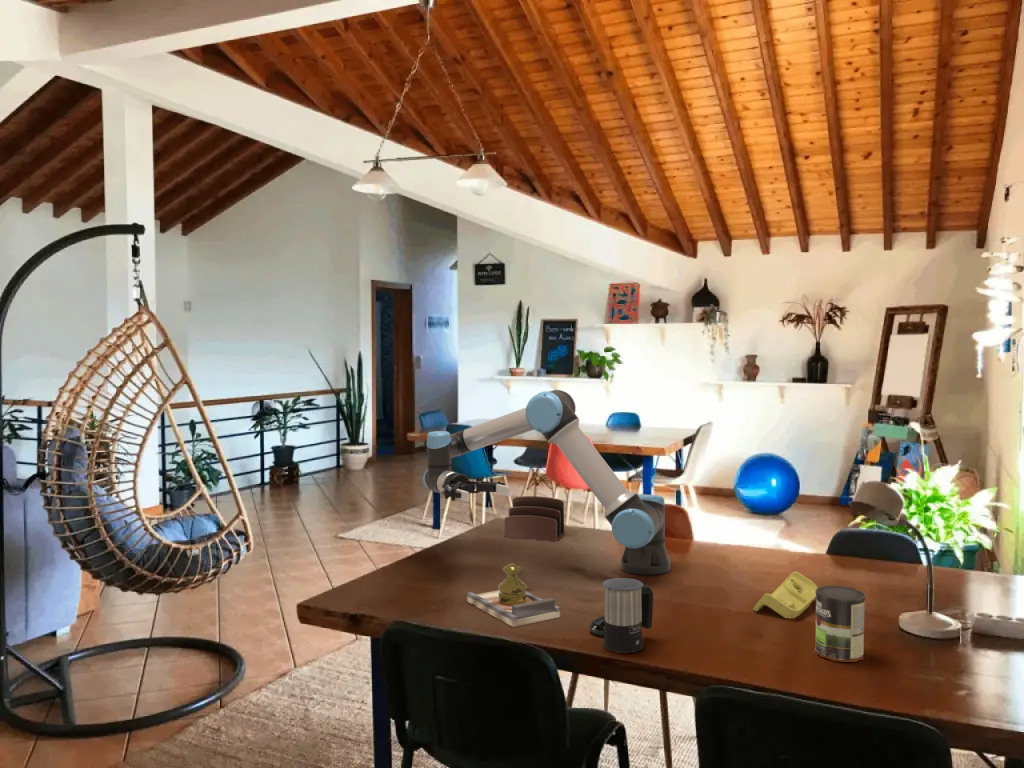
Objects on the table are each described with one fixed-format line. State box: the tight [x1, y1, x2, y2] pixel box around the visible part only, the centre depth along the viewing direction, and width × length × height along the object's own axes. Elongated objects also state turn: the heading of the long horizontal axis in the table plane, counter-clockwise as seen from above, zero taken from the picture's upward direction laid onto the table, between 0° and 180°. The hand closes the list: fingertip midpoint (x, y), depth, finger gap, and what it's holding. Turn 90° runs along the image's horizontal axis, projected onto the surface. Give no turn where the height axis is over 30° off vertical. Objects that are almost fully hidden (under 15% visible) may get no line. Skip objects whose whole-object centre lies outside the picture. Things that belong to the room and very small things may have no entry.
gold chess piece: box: [497, 563, 527, 606], centre depth 217 cm, size 7×7×10 cm
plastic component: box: [752, 571, 819, 619], centre depth 217 cm, size 20×7×10 cm
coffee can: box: [814, 585, 866, 660], centre depth 184 cm, size 10×10×14 cm
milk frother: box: [589, 577, 654, 654], centre depth 193 cm, size 14×16×15 cm
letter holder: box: [504, 495, 565, 542], centre depth 298 cm, size 10×20×14 cm, turn 70°
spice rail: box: [466, 589, 561, 628], centre depth 217 cm, size 24×14×4 cm, turn 31°
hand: (488, 494), depth 237 cm, fingers open, 13 cm apart
